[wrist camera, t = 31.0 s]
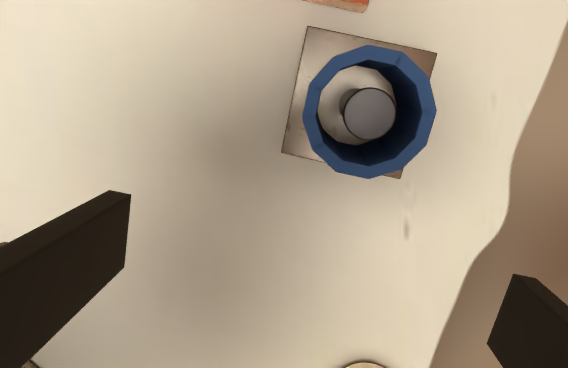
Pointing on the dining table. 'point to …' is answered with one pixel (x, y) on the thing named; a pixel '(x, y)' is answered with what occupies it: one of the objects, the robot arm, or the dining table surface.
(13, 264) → the robot arm
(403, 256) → the dining table surface
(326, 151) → the sleeve
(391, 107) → the brown base with rod
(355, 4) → the dial panel
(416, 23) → the dining table surface
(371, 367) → the can
